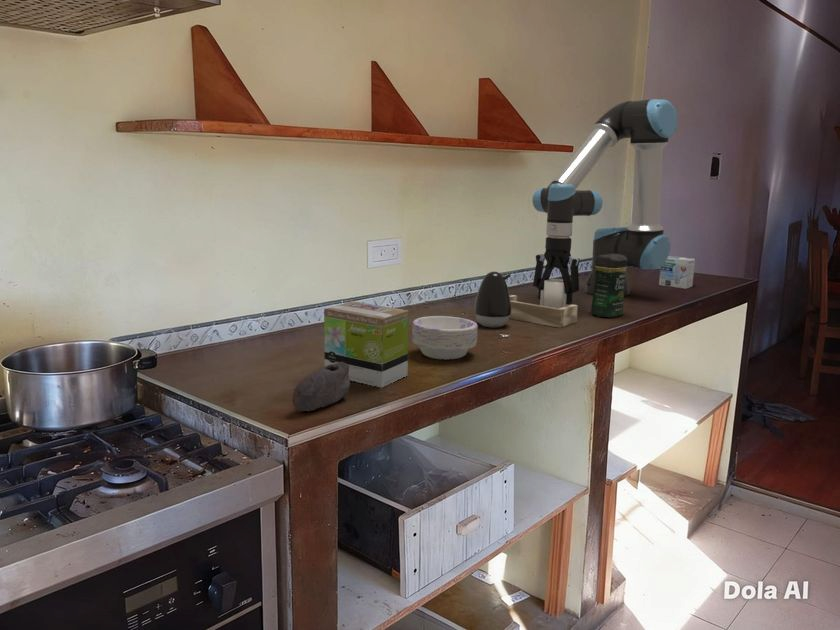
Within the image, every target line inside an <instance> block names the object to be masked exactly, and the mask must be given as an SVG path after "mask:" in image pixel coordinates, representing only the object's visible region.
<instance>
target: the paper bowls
mask: <svg viewBox="0 0 840 630" xmlns="http://www.w3.org/2000/svg"><path fill="white" fill-rule="evenodd" d="M478 328H479V326H478V324H477V322H476V321H473V320H471V319H467V318H463V317H457V316H456V317H455V316H450V315H449V316H448V315H447V316H446V315H430V316H423V317H418V318H416V319H414V320H413V322H412V328H411V329H412V330H411V334H412V335H411V339H412V341H411V342H412V343H413V344H414V345H416V346H418V347H419V349H420V351H421V353H422V354H423V355H424V356H426V357H428V358H431V359H434V360H435V359H436V360H442V359H443V360H442V361H445V360H446V361H447V360H450V359H451V360H457V359H460V358H464V357H465V356H466V355H467V354H468V351H469V349H473V348H474V347H475V346H477V344H478V343H477V341H478ZM451 360H450V361H451Z"/></svg>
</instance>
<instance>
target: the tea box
mask: <svg viewBox="0 0 840 630" xmlns="http://www.w3.org/2000/svg"><path fill="white" fill-rule="evenodd" d="M409 313H410V311H409V310H408V309H402V308H396V307H390V306H384V305H378V304H377V305H376V304H373V303H372V304H370V303H365V302H359V301H354V300H352V301H348V302H344V303H341V304H339V305H334V306H331V307H328V308H324V309H323V318H324V319H323V328H324V329H323V332H324V339H323V341H324V342H323V343H324V345H323V346H324V349H323V351H324V352H323V353H324V354H323V355H324V356H323V357H324V367H326V366H328V365H332V364H335V363H338V362H344V363H347V364H348V365H349V372H348V373H349V379H350V382H354V381H355V383H359V384H362V383H363V385H366V384H367V385H366V386H370V385H371V386H370V387H374V386H377V387H384V386H386V385H388V384H390V383H392V384H394V383H393V382H395V381H397V380H398V379H401V378H403V377H405V378H406V376H407V377H408V369H409V367H408V364H409V330H410V329H409V327H410V325H409V320H410V319H409V317H410V316H409V315H410V314H409ZM403 379H404V378H403ZM401 380H402V379H401ZM397 382H398V381H397ZM395 383H396V382H395ZM390 385H391V384H390ZM388 386H389V385H388ZM377 387H376V388H377ZM386 387H387V386H386ZM384 388H385V387H384Z"/></svg>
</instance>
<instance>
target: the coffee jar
mask: <svg viewBox="0 0 840 630" xmlns="http://www.w3.org/2000/svg"><path fill="white" fill-rule="evenodd" d="M627 269H628V266H627V258H626V256H625V255H620V254H606V255H599V256H598V257H597V258H596V262H595V285H594V293H593V294H592V299H591V300H592V301H591V308H590V309H591V310H590V313H591V314H592V315H594V316H596V317H599V318H602V317H606V318H615V317H619V316H622V315H623V314H624V307H625V306H624V304H625V303H624V302H625V300H624V298H625V296H624V280H625V274H626V275H627V271H628V270H627Z"/></svg>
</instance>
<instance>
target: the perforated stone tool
mask: <svg viewBox="0 0 840 630" xmlns="http://www.w3.org/2000/svg"><path fill="white" fill-rule="evenodd" d="M348 372H349V365H348V364H347V363H344V362H338V363H335V364H332V365H328V366H326V367H325V366H323V367H320V368H319V369H317V370H316V371H314V372H312V373H311V374H309V375H308V376H306V377H305V378H304V379H302V380H301V381H299V383H298V384H297V385H296V387H295V388H294V391H293V394H292V404H293V405H292V406H293V407H294V409H295V410H296V411H298V412H301V411H306V410H311V409H316V408H319V409H321V408H320V407H322V406H326V405H329V404H331V405H333V404H332V403H334V404H336V403H337V402H339V401H340V400H342V399H344V398H346V397H347V396H348V393H349V390H350V387H351V380H350V379H349V373H348ZM341 398H342V399H341ZM335 402H336V403H335ZM329 406H330V405H329ZM326 407H327V406H326ZM316 410H317V409H316Z"/></svg>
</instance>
